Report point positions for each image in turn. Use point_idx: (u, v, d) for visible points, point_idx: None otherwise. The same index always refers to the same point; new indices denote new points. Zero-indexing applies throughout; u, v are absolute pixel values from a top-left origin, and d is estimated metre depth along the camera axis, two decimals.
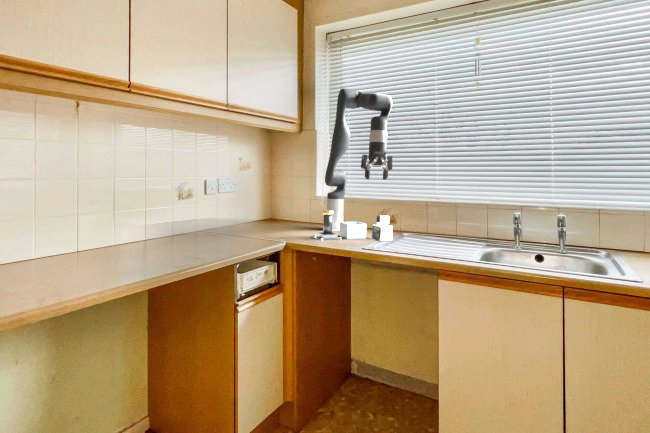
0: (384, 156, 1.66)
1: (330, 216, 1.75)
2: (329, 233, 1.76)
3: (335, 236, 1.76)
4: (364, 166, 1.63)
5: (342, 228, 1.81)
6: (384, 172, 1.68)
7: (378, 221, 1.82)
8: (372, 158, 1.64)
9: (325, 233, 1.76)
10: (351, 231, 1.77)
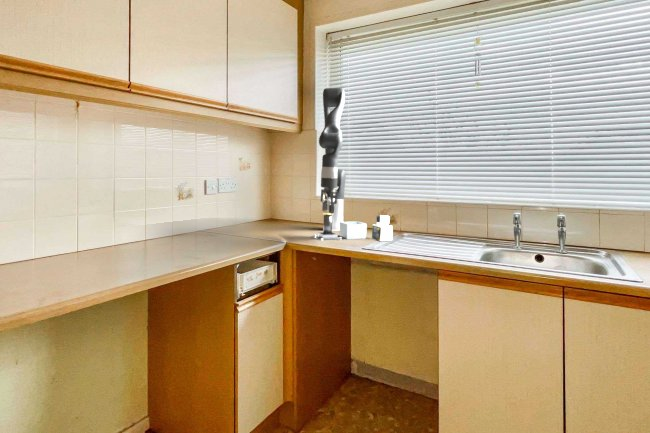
0: None
1: (330, 216, 1.75)
2: (329, 233, 1.76)
3: (335, 236, 1.76)
4: None
5: (342, 228, 1.81)
6: (325, 205, 1.80)
7: (378, 221, 1.82)
8: None
9: (325, 233, 1.76)
10: (351, 231, 1.77)
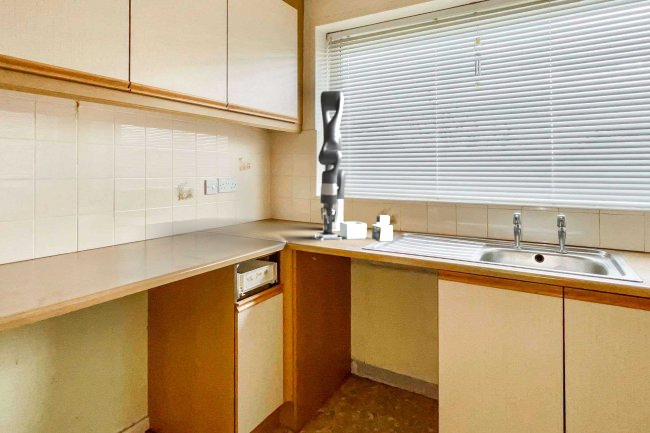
0: None
1: None
2: (329, 233, 1.76)
3: (335, 236, 1.76)
4: None
5: (342, 228, 1.81)
6: None
7: (378, 221, 1.82)
8: None
9: (325, 233, 1.76)
10: (351, 231, 1.77)
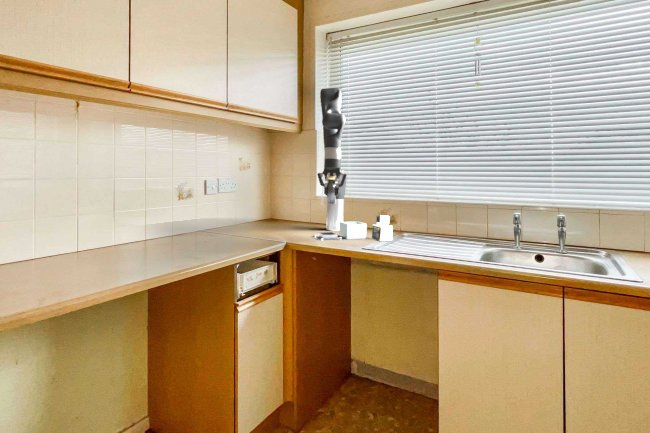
0: None
1: None
2: (335, 198, 1.76)
3: (335, 236, 1.76)
4: None
5: (342, 228, 1.81)
6: None
7: (378, 221, 1.82)
8: None
9: (333, 198, 1.75)
10: (351, 231, 1.77)
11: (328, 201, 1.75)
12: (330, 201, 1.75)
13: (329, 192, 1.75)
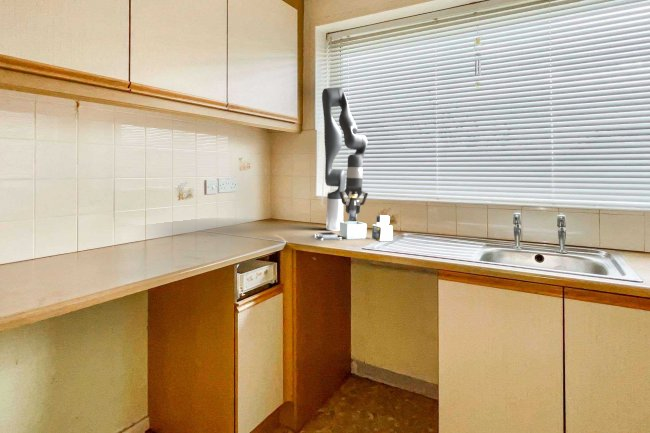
0: None
1: None
2: (356, 216, 1.81)
3: (335, 236, 1.76)
4: None
5: (342, 228, 1.81)
6: (348, 206, 1.81)
7: (378, 221, 1.82)
8: None
9: (354, 216, 1.79)
10: (351, 231, 1.77)
11: (350, 219, 1.80)
12: (352, 219, 1.79)
13: (351, 210, 1.79)
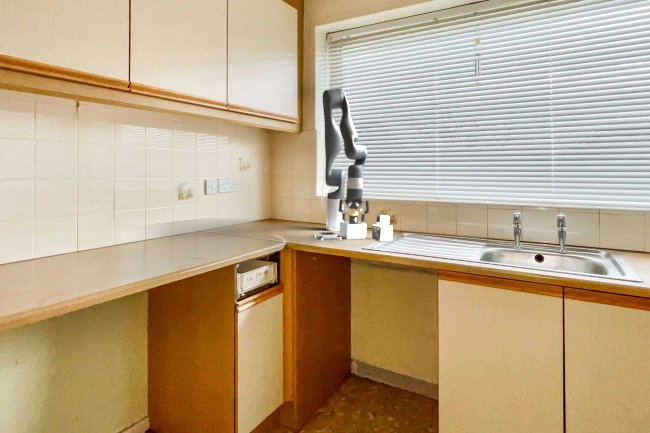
0: None
1: (357, 216, 1.81)
2: None
3: (335, 236, 1.76)
4: None
5: (342, 228, 1.81)
6: (345, 214, 1.82)
7: (378, 221, 1.82)
8: None
9: None
10: (351, 231, 1.77)
11: None
12: None
13: None
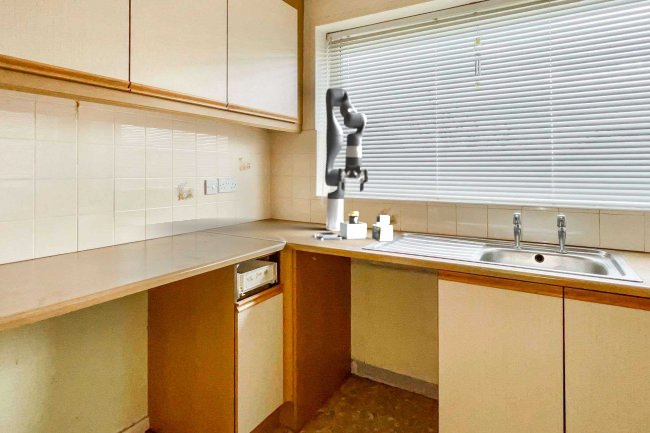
0: None
1: (357, 216, 1.81)
2: None
3: (335, 236, 1.76)
4: None
5: (342, 228, 1.81)
6: (344, 184, 1.82)
7: (378, 221, 1.82)
8: None
9: None
10: (351, 231, 1.77)
11: None
12: None
13: None
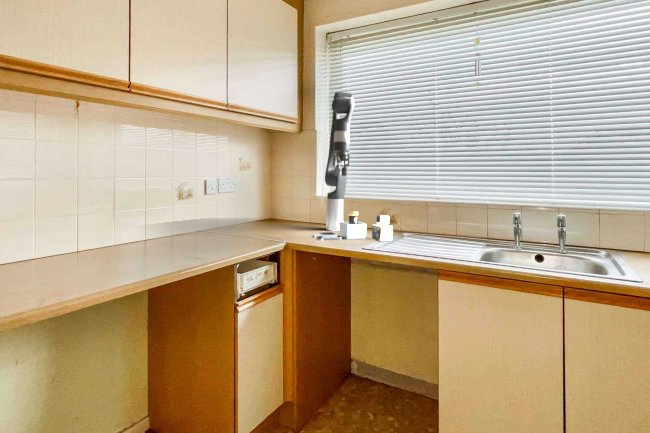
0: None
1: None
2: None
3: (335, 236, 1.76)
4: None
5: (342, 228, 1.81)
6: (337, 169, 1.87)
7: (378, 221, 1.82)
8: None
9: None
10: (351, 231, 1.77)
11: None
12: None
13: None
